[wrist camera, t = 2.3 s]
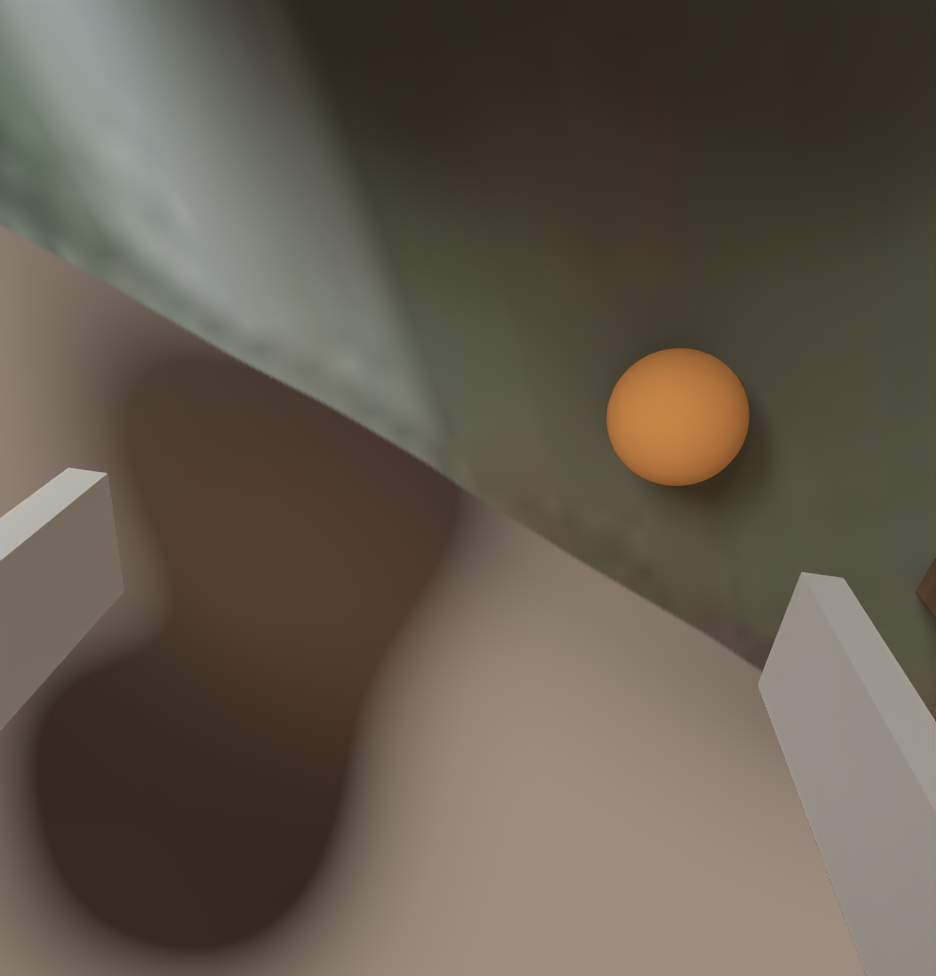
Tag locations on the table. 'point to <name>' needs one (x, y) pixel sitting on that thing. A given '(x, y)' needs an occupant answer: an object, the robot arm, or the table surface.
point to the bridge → (929, 589)
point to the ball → (678, 416)
